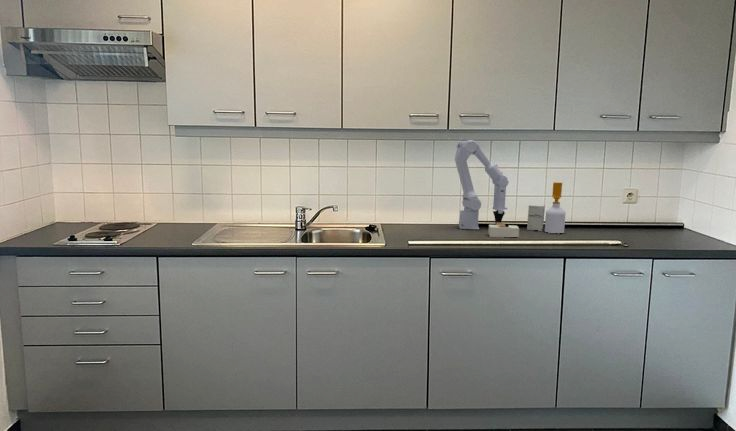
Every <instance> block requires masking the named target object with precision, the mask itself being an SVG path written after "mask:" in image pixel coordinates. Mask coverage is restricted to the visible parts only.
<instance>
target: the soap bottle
mask: <svg viewBox="0 0 736 431" xmlns="http://www.w3.org/2000/svg"><path fill="white" fill-rule="evenodd" d="M562 190H563V182H557V181H556V182H554V181H553V184H552V198H553V199H554V201H552V206H551V207H549V208H548V209H547V210H545V217H544V222H545V223H544V232H545V233H546V232H548V233H547V234H550V233H558V234H557V235H560V234H559V233H563V234H564V233H565V224H566V223H565V222H566V211H565V210H564V209H563V208H561V202H560V201H559V200H560V199H561V198H562Z"/></svg>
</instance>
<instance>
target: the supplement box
mask: <svg viewBox="0 0 736 431" xmlns="http://www.w3.org/2000/svg"><path fill="white" fill-rule="evenodd" d="M545 208H546V204H542V203H541V204H540V203H529V205H528V212H527V224H526V225H527V226H526V231H534V230H538V231H537V232H542V231H543V230H542V229H544V224H545V223H544V222H545V212H546V209H545Z"/></svg>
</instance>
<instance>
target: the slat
mask: <svg viewBox="0 0 736 431" xmlns="http://www.w3.org/2000/svg"><path fill="white" fill-rule="evenodd" d="M495 225H498V227H506V228H507V226H506V224H505V222H503V221H501V222H496V224H495Z"/></svg>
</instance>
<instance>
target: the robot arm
mask: <svg viewBox="0 0 736 431" xmlns="http://www.w3.org/2000/svg"><path fill="white" fill-rule="evenodd" d="M467 140H468V141H461V140H460V141H459V142H458V143H457V145H456V151H455V152H456V153H455V154H454V161H455V165H456V170H457V173H458V176H459V180H460V185H461V187H462V192H463V194H462V206H463V210H460V211H459V218H458V220H459V222H458V225H459V226H458V227H459V229H460V230H478V231H479V230H480V227H479V212H480V209H481V207H482V202H481V199H480V198H479V197H478V194H477V193H476V192H475V189H474V185H473V181H472V176H471V173H470V169H469V165H468V162H467V160H468V159H469V158H470V156H471V155H473V156H475V157H476V158H477V159H478V160H479V162H480V163H481V164H482V165H483V167H484V171H485V173H486V174H487V175H488V176H489V178H490V179H491V180H492V182H491V183H492V184H493V185H494V186H493V187H494V188H493V203H492V204H493V207H492V210H494V211H492V213H493V216H494V221H495V224H494V225H496V222H503V218H504V216H505V214H506V212H505V210H508V207H506V193H507V187H508V185H509V182H510V181H509V179H508V177H507V176H506V175H504V172H503V171H501V170H500V169H499V167H498V166H499V165H498V164H496V163H495V162H491V161H490V160H489V158H488V157H487V156H486V154H485V152H484V151H483V149H482V148H481V146H480V145H479V144H477V141H475V140H474V139H467Z"/></svg>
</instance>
